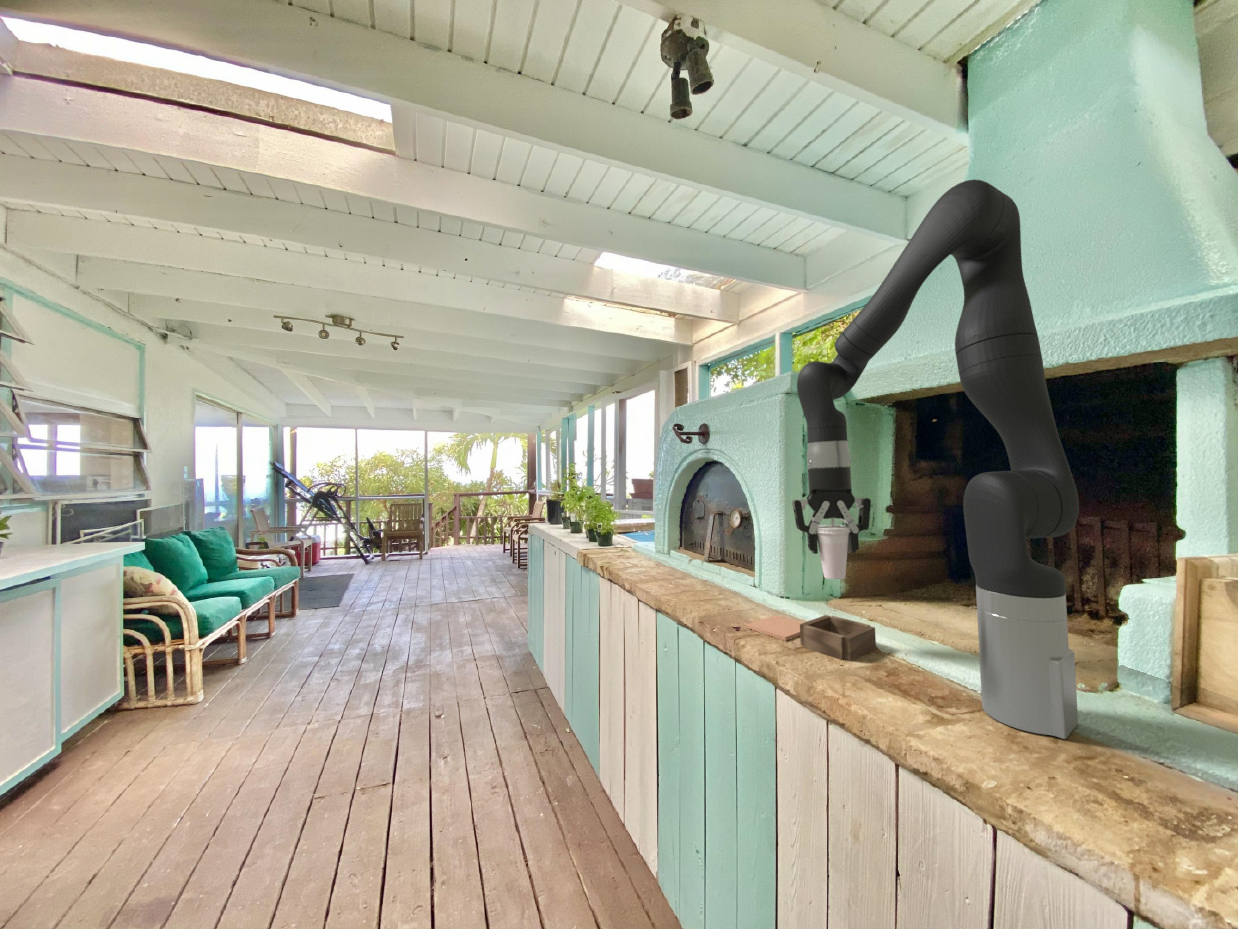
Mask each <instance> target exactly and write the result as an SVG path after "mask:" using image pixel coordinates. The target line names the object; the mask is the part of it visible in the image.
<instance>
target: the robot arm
mask: <svg viewBox="0 0 1238 929" xmlns="http://www.w3.org/2000/svg"><path fill="white" fill-rule="evenodd" d="M1020 217H1021V216H1020V211H1019V208H1018V205H1017V204H1016V203H1015V201H1014V199H1012V197H1010V196H1009V195H1008V194H1005V193H1004V192H1003V191H1001V190H999V189H998V188H996V187H995V186H993V184H991V183H990V182H987V181H984V180H982V179H969V180H965V181H961V182H959V183H957V184H956V185H954V186H952V187H950V188H949V189H948V190H947V191H945V192H944V193H943V194H942V195H941V196H940V197H939V198H938V199H937V201H936V202H935V203H934V204H933V206H931V208H930V209H929V211H928V212H927V214H925V216H924V217H923V219H922V221H921V222H920V224H919V226H918V227H917V229H916V230H915V232H914V233H913V235H912V236H911V238H910V240H909V241H908V243H907V244H906V246H905V247H904V249H903V251H902V252H901V253H900V255H899V256H898V258H897V260H896V261H895V262H894V264H893V266H892V267H891V268H890V270H889V272H888V273H887V275H886V277H885V278H884V279H883V281H882V283H881V284H880V285H879V287H878V288H877V290H876V291H875V292H874V293H873V295H872V296H871V297H870V299H868V301H867V303H866V304H865V305H864V306H863V308H862V309H860V311H859V312H858V313H857V314H856V315H855V317H854V318H853V319H852V320H851V321H850V322H849V324H847V326H846V327H845V329H844V330H843V331H842V332H841V333H840V334H839V336H838V337H837V338H836V340H835V342H834V350H835V351H836V353H837V354H836V356H835V358H834V359H833V360H832V361H831V362H825V361H817V360H816V361H810V362H808V363H806V364H805V365H804V366H802V368H801V369H800V371H799V373H798V376H797V381H796V391H797V396H798V399H799V402H800V406H801V409H802V412H803V415H804V418H805V420H806V432H807V434H806V435H807V436H806V438H807V452H806V458H807V459H806V460H807V462H806V463H807V477H808V478H807V480H808V494H807V497H806V498H803V499H793V500H791V501H792V502H791V503H792V510H793V514H794V520H795V525H796V529H797V530H799V531H801V532H804V533H806V535H807V547H808V550H809V551H811V553H812V554H813V555H814V554H815V555H817V554H819V546H818V541H817V534H816V530H817V528H818V526H819V525H821V522H822V521H823V519H824V520H828V519H831V518H834V519H841V521H842V522H843V523H844V526H849V527H850V533H849V536H848V549H847V552H849V554H856V551H858V550H859V548H860V546H859V545H860V544H859V534H860V532H862V531H866V530H868V529H869V528H870V516H871V506H872V505H871V504H872V500H871V498H868V497H861V498H859V497H855V496H854V495H853V492H852V472H851V464H852V460H851V456H850V454H851V453H850V448H849V443H848V427H847V426H848V425H847V418H846V415H845V413H843V412H842V411H841V410H838V409H837V408H836V406H835V403H834V401H835V400H838V399H840V398H842V397H843V396H845V395H846V394H848V393H849V392H850V391H851V390H852V389H853V387H855V386H856V384H857V382H858V381H859V378H860V377H861V376H862V375H863V372H864V371H865V369H866V368H867V365H868V363H869V362H870V361H871V360H872V358H874V356H876V354H877V353H878V352H879V351H880V350H881V349H882V348H883V347H884V346H885V345H886V344H887V343H888V342H889V341H890V340H891V339H892V337H894V335H895V334H896V333H897V332H898V331H899V329H900V327H901V326H902V325H903V323H904V321H905V319H906V318H907V315H908V313H909V311H910V308H911V306H912V304H913V302H914V299H915V298H916V296H917V293H918V292H919V290H920V288H921V287H922V286H923V284H924V283H925V281H926V280H927V279H928V278H929V277H930V275H931V274H932V273H933V272H934V270H935V269H937V267H938V266H939V265H940V264H941V263H942V262H944V260H945V259H947V258H948V257H949V256H952V257H953V258H954V260H955V262H956V264H957V268H958V271H959V273H960V274H959V275H960V278H961V282H962V287H963V305H962V306H963V307H962V310H961V313H960V317H959V320H958V324H957V327H956V332H955V333H956V334H955V336H954V337H955V339H954V349H955V359H956V364H957V369H958V376H959V380H960V384H961V387H962V391H964V393H965V395H966V396H967V397H968V399H969V400H970V401H971V403H972V404H973V405H974V406H975V407H976V409H978V410H979V412H980V413H981V414H982V415H983V416H984V417H985V418H986V420H988V422H989V423H990V424H991V425H992V426H993V428H994V429H995V430H996V431H997V434H999V436H1000V438H1001V440H1002V442H1003V444H1004V447H1005V449H1006V452H1007V457H1008V462H1009V465H1010V470H1001V471H1000V470H999V471H987V472H982V473H979V474H977V475H974V476H973V477H972V478H971V479H970V480H969V481H968V484H967V486H966V487H965V491H964V494H963V503H962V504H963V518H964V527H965V528H964V529H965V532H966V533H965V534H966V543H967V552H968V558H969V563H970V566H971V567H972V570H973V572H974V576H975V591H976V592H975V595H976V596H975V597H976V613H977V632H978V634H977V635H978V636H977V637H978V650H979V651H978V652H979V654H978V655H979V656H978V657H979V672H980V673H979V674H980V696H981V704H982V706H981V707H982V709H983V711H984V712H985V713H986V714H987V715H988V716H990V718H992V719H994V720H996V721H998V722H1000V723H1002V724H1005V725H1007V726H1009V727H1012V728H1015V729H1017V730H1021V731H1025V732H1029V733H1032V734H1039V735H1046V736H1047V735H1049V736H1053V737H1057V738H1060V739H1062V740H1066V739H1067V738H1068V736H1070V735H1071V733H1072V731H1074V729H1075V728H1076V726H1077V725H1078V724H1079V715H1078V712H1079V711H1078V698H1077V697H1078V696H1077V679H1076V678H1077V677H1076V661H1075V660H1076V658H1075V657H1076V656H1075V651H1074V650H1073V649H1071V648H1070V647H1069V646H1070V645H1069V631H1068V611H1067V594H1066V593H1067V590H1066V589H1067V588H1066V579H1065V576H1064V573H1063V572H1061V571H1060V570H1059V569H1057V568H1055V567H1052V566H1049V565H1047V564H1043V563H1042V564H1041V563H1039V562H1038V561H1035V560H1034V559H1033V558H1032V557H1031V556H1030V552H1029V548H1028V542H1027V539H1044V538H1045V539H1046V538H1047V539H1048V538H1056V537H1061V536H1064V535H1066V534H1068V533H1069V532H1070V531H1071V530H1072V529H1073V528H1074V527H1075V525H1076V524H1077V521H1078V518H1079V516H1080V515H1079V514H1080V502H1079V495H1078V490H1077V486H1076V483H1075V480H1074V478H1073V474H1072V471H1071V467H1070V464H1069V462H1068V460H1067V456H1066V452H1065V450H1064V446H1063V445H1062V442H1061V439H1060V436H1059V431H1058V428H1057V424H1056V420H1055V416H1054V413H1053V408H1052V404H1051V400H1050V395H1049V390H1048V385H1047V381H1046V375H1045V369H1044V368H1045V367H1044V363H1043V362H1044V361H1043V355H1042V351H1041V344H1040V340H1039V335H1038V331H1037V327H1036V324H1035V320H1034V319H1035V318H1034V314H1033V310H1032V306H1031V304H1032V303H1031V300H1030V296H1029V292H1028V289H1027V286H1026V282H1025V277H1024V272H1023V262H1022V240H1021V239H1022V236H1021V218H1020ZM854 504H855V506H856V508H857V509H858V518H857V519H858V520H857V523H856V522H855V520H854V518H853V516H852V514H851V513H850V509H851V508H852V507H853V506H854ZM807 505H808V506H809V507H810V509H811V510H812V511H813V512H812V514H811V517H810V520H809V522H808V524H806V522H805V516H804V512H803V511H805V510H806V506H807Z"/></svg>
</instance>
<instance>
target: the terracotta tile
mask: <svg viewBox="0 0 1238 929" xmlns="http://www.w3.org/2000/svg"><path fill="white" fill-rule="evenodd" d="M802 623H803V622H802V621H797V620H795V619H790V618H788V617H787V618H786V617H783V616H780V615H777V614H774V615H771V616H769V617H765V618H762V619H759V620H755V621H753V622H750V623H746V624H745V627H747V628H749V629H748V630H750V629H752V630H751V631H753V630H755V631H754V632H756V631H757V632H756V633H759V632H763V633H765V634H767V635H766V636H768V635H770V636H769V637H771V636H773V637H772V638H774V637H775V638H774V639H777V638H780V639H782V640H781V641H783V640H785V641H784V642H787V641H786V640H788V641H789V639H790V640H792V639H791V638H793V639H795V638H797V637H800V624H802ZM747 628H746V629H747ZM765 634H764V635H765ZM780 639H779V640H780Z"/></svg>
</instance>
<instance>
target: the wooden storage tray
mask: <svg viewBox="0 0 1238 929" xmlns="http://www.w3.org/2000/svg"><path fill="white" fill-rule="evenodd" d="M799 637H800V638H799V639H800V646H802V647H804V649H808V650H810V651H814V652H817V653H820V654H823V655H825V656H826V655H827V656H829V657H832V658H836V659H839V660H841V661H843V660H846V661H849V662H852V661H854V660H856V659H858V658H860V657H862V656H865V655H867V654H869V653H871V652H873V651H875V650H876V649H877V643H876V642H877V641H876V640H877V639H876V627H875V626H871V625H870V624H868V623H863V622H859V621H855V620H851V619H848V618H843V617H839V616H835V615H827V614H825V615H822V616H820V617H816V618H814V619H811V620H810V619H809V620H808V621H805V622H802V624H800V636H799Z"/></svg>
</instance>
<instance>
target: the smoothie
mask: <svg viewBox="0 0 1238 929" xmlns="http://www.w3.org/2000/svg"><path fill="white" fill-rule="evenodd" d="M849 533H850V527H849V526H846V525H841V524H835V518H830V524H824V525H823V524H819V526H818V528H817V530H816V532H815V534H817V545H818V553H819V556H820V561H821V566H822V572H823V573H822V574H823V577H824V578H825V579H829V580H844V579H846V573H847V562H848V561H847V559H848V536H849Z"/></svg>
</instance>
